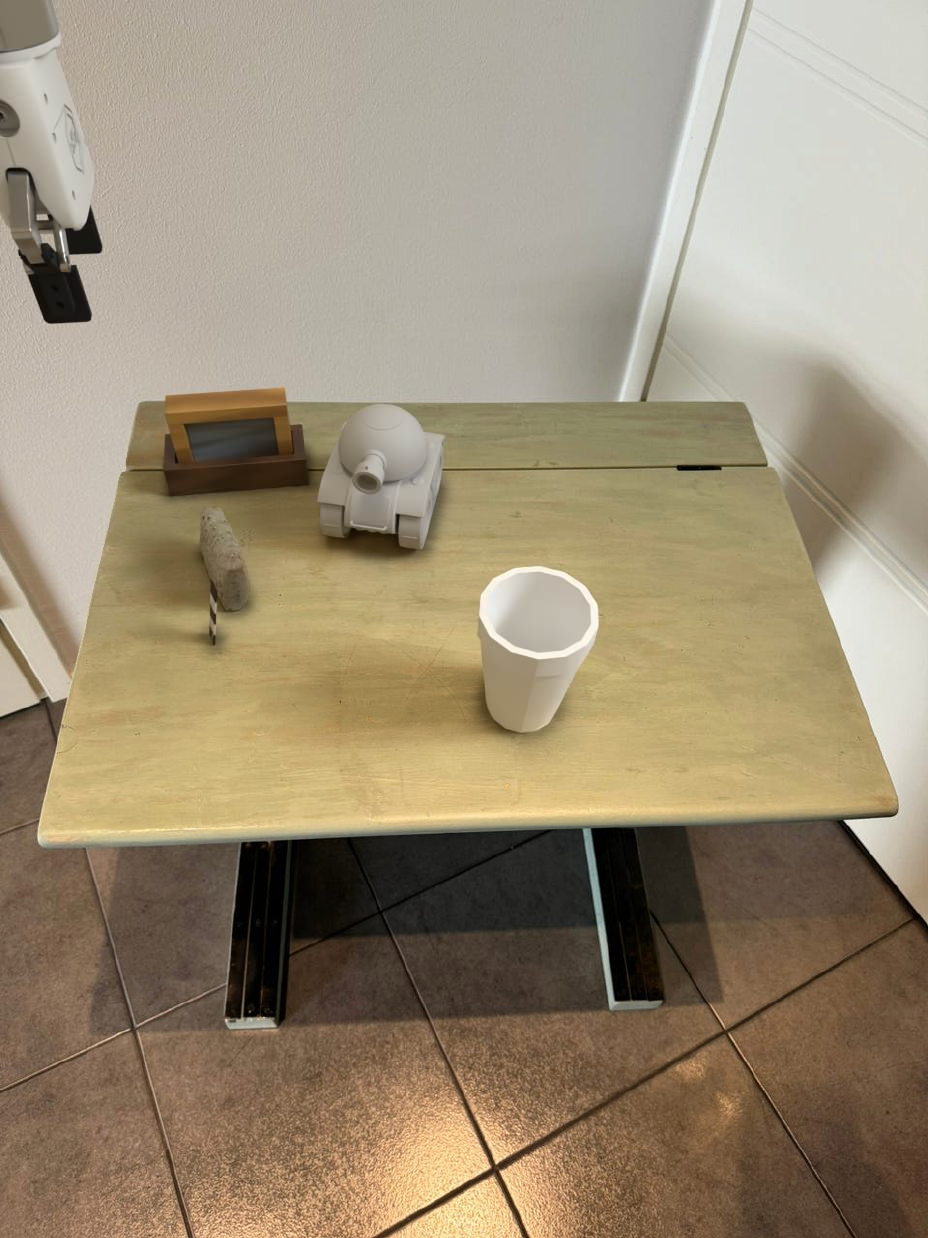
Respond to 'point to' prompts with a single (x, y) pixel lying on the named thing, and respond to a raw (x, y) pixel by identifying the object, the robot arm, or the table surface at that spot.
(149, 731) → the table surface
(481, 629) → the foam cup
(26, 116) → the robot arm
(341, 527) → the toy tank
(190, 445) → the frame
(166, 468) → the holder
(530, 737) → the table surface
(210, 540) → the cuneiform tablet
